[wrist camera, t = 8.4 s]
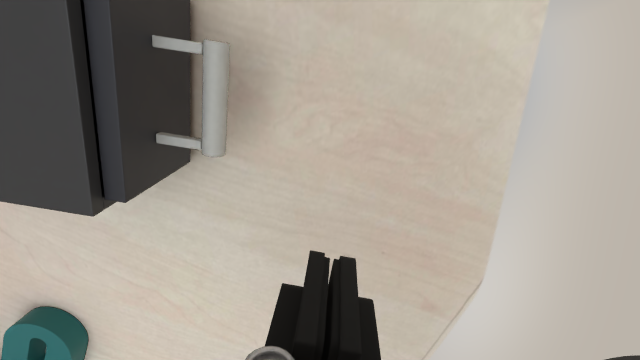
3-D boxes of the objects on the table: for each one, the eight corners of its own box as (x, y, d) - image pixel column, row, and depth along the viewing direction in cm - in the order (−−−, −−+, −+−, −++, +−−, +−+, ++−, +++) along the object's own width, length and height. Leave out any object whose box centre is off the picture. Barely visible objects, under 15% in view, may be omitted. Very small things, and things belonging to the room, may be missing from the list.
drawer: (253, 7, 20) (204, -26, 13) (243, 170, 24) (201, 215, 17) (-12, -35, 20) (-208, -90, 13) (22, 134, 24) (-115, 164, 17)
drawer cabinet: (179, -13, 21) (56, -72, 12) (181, 163, 25) (93, 216, 16) (-33, -46, 21) (-310, -129, 12) (6, 135, 25) (-176, 173, 16)
